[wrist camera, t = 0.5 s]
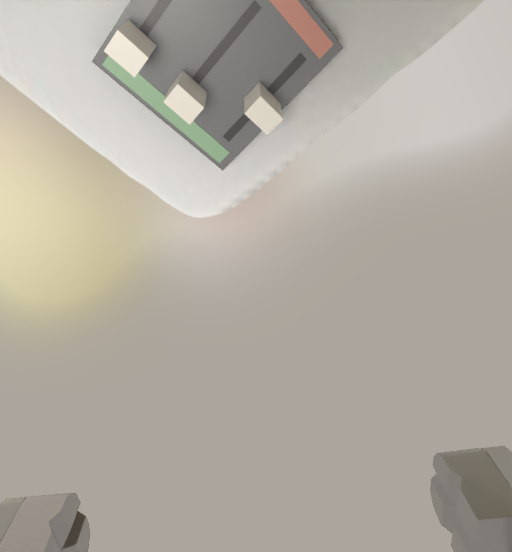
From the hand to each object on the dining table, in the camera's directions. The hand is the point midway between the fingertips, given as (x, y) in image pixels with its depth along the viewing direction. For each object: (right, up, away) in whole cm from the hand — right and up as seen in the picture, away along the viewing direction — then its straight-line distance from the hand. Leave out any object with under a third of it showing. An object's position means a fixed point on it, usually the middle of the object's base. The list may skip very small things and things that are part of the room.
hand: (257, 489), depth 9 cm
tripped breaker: (+1, +25, +39) cm, 46 cm away
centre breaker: (-8, +26, +38) cm, 47 cm away
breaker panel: (-4, +31, +38) cm, 49 cm away
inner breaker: (-13, +30, +35) cm, 47 cm away
